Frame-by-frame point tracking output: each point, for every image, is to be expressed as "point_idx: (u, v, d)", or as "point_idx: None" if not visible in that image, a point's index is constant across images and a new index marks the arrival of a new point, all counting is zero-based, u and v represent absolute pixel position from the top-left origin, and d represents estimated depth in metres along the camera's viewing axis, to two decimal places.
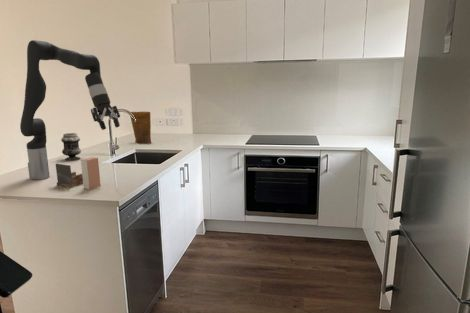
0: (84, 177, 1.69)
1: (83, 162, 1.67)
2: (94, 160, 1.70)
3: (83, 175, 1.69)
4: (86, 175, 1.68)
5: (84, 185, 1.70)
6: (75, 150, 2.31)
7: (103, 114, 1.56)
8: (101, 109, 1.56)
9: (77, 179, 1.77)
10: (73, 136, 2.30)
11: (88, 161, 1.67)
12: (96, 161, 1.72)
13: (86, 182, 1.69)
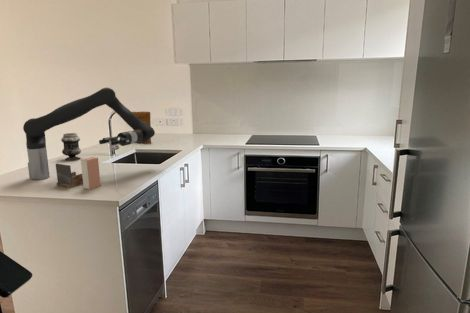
0: (84, 177, 1.69)
1: (83, 162, 1.67)
2: (94, 160, 1.70)
3: (83, 175, 1.69)
4: (86, 175, 1.68)
5: (84, 185, 1.70)
6: (75, 150, 2.31)
7: (119, 144, 1.83)
8: None
9: (77, 179, 1.77)
10: (73, 136, 2.30)
11: (88, 161, 1.67)
12: (96, 161, 1.72)
13: (86, 182, 1.69)
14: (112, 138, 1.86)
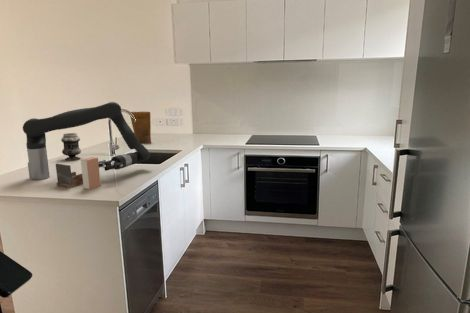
0: (84, 177, 1.69)
1: (83, 162, 1.67)
2: (94, 159, 1.70)
3: (83, 175, 1.69)
4: (86, 175, 1.68)
5: (84, 185, 1.70)
6: (75, 150, 2.31)
7: None
8: None
9: (77, 179, 1.77)
10: (73, 136, 2.30)
11: (88, 161, 1.67)
12: (96, 161, 1.72)
13: (86, 182, 1.69)
14: (106, 162, 1.83)
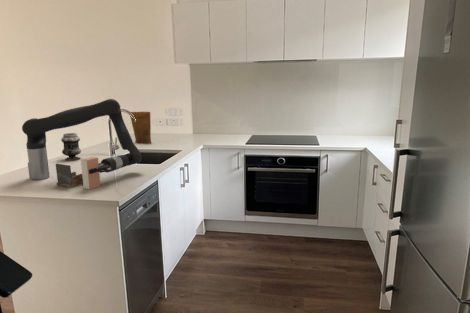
0: (84, 177, 1.69)
1: (83, 162, 1.67)
2: (94, 159, 1.70)
3: (83, 175, 1.69)
4: (86, 175, 1.68)
5: (84, 185, 1.70)
6: (75, 150, 2.31)
7: None
8: None
9: (77, 179, 1.77)
10: (73, 136, 2.30)
11: (88, 161, 1.67)
12: (96, 161, 1.72)
13: (86, 182, 1.69)
14: None
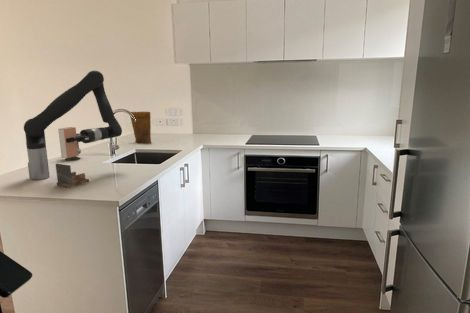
0: (62, 146, 1.72)
1: (60, 131, 1.70)
2: (71, 129, 1.73)
3: (61, 144, 1.72)
4: (63, 144, 1.71)
5: (62, 154, 1.73)
6: None
7: (80, 141, 1.77)
8: None
9: (77, 179, 1.77)
10: None
11: (65, 130, 1.70)
12: (73, 131, 1.74)
13: (64, 151, 1.72)
14: None
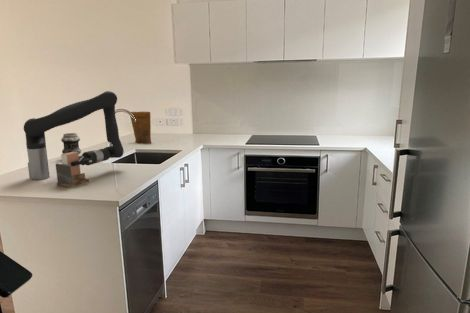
0: None
1: (63, 156, 1.73)
2: (74, 154, 1.76)
3: None
4: None
5: None
6: (75, 150, 2.31)
7: None
8: None
9: (77, 179, 1.77)
10: (73, 136, 2.30)
11: (68, 155, 1.73)
12: (76, 156, 1.77)
13: None
14: None
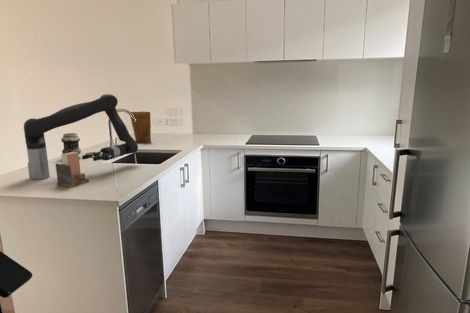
0: None
1: (63, 156, 1.73)
2: (74, 154, 1.76)
3: None
4: None
5: None
6: (75, 150, 2.31)
7: None
8: (104, 157, 1.93)
9: (77, 179, 1.77)
10: (73, 136, 2.30)
11: (68, 155, 1.73)
12: (76, 156, 1.77)
13: None
14: (95, 153, 1.94)
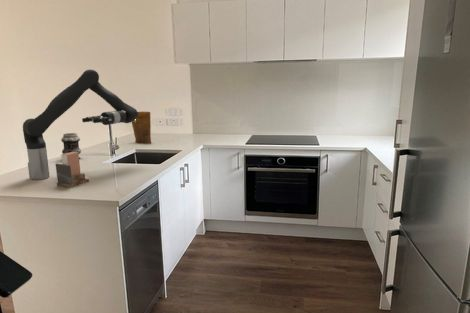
0: None
1: (63, 156, 1.73)
2: (74, 154, 1.76)
3: None
4: None
5: None
6: (75, 150, 2.31)
7: (102, 122, 1.90)
8: (104, 121, 1.92)
9: (77, 179, 1.77)
10: (73, 136, 2.30)
11: (68, 155, 1.73)
12: (76, 156, 1.77)
13: None
14: None
